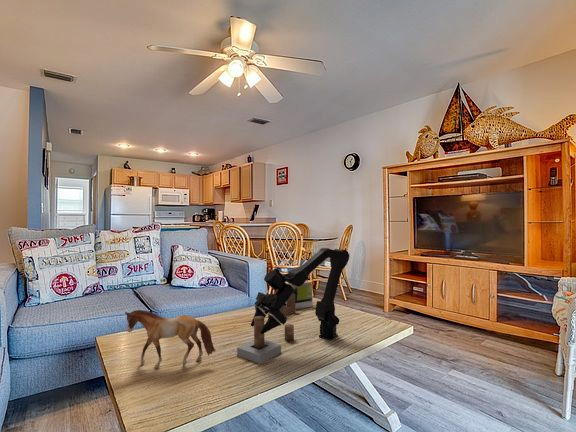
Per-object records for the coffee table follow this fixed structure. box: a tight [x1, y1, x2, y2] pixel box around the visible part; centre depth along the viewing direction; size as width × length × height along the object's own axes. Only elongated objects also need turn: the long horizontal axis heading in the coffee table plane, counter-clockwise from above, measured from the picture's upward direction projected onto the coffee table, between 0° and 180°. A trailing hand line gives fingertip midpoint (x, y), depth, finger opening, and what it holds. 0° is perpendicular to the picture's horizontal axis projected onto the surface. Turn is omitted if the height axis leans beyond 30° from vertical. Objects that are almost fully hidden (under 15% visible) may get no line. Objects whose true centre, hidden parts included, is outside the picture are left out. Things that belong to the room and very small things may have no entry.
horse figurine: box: [124, 309, 217, 369], centre depth 109 cm, size 31×8×21 cm, turn 96°
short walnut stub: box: [284, 323, 295, 342], centre depth 132 cm, size 4×4×6 cm
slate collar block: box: [236, 339, 282, 365], centre depth 118 cm, size 12×12×3 cm
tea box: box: [285, 280, 313, 310], centre depth 182 cm, size 15×10×15 cm, turn 115°
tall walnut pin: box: [253, 316, 265, 350], centre depth 118 cm, size 4×4×14 cm
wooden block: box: [280, 286, 296, 316], centre depth 168 cm, size 4×11×18 cm, turn 135°
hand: (256, 329), depth 117 cm, fingers open, 9 cm apart
